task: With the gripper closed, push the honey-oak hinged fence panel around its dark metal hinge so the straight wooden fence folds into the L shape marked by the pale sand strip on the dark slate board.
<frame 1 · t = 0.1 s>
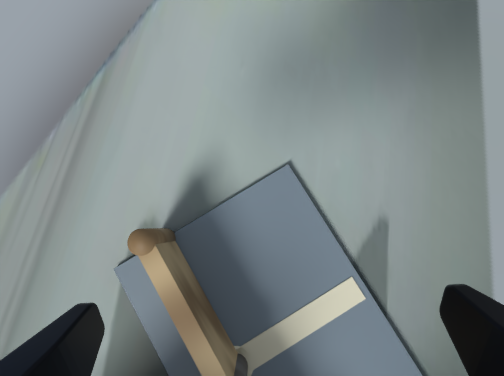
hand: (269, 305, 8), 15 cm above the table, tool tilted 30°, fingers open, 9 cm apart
folding fence panel: (192, 310, 19), point 3 cm above the table, hinge at 0.0°
layout board: (270, 332, 22), on the table
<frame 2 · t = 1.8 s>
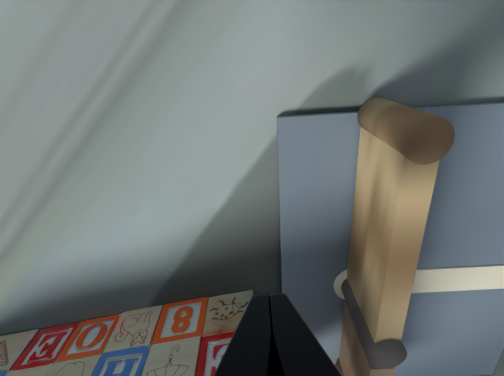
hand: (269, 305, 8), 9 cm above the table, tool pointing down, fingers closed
folding fence panel: (381, 237, 14), point 3 cm above the table, hinge at 0.0°
layout board: (405, 270, 18), on the table
stack of blocks: (121, 342, 21), on the table
fixed fence section: (348, 324, 20), resting on layout board
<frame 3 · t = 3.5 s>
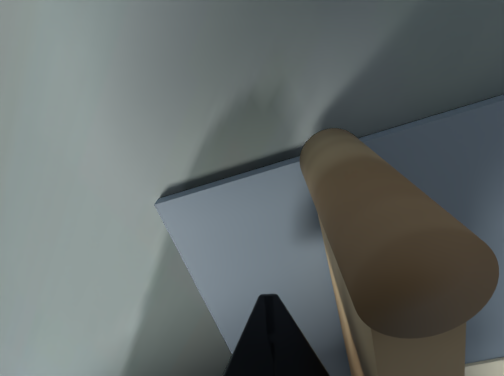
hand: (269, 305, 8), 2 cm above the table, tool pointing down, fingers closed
layout board: (448, 362, 12), on the table
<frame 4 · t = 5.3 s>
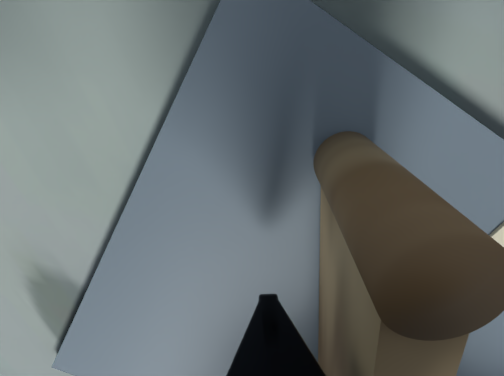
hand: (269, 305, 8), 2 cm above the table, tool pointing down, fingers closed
layout board: (370, 339, 11), on the table
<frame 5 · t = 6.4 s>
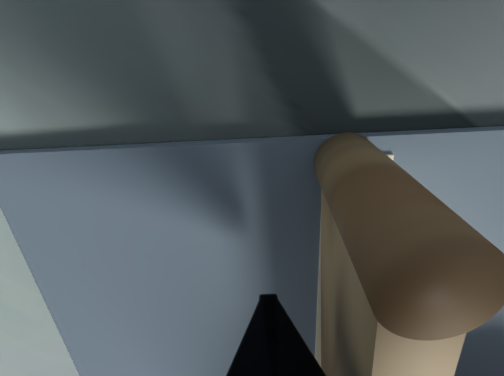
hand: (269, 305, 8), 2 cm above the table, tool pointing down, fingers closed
layout board: (324, 334, 11), on the table
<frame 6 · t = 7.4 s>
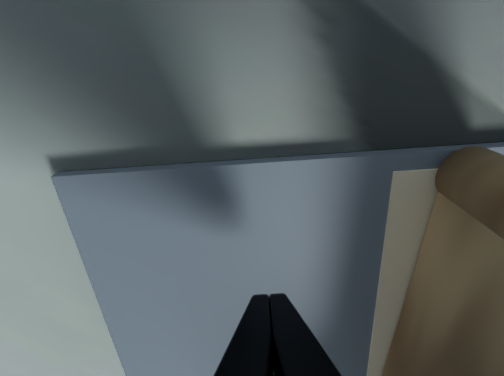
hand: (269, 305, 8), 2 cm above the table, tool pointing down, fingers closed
layout board: (376, 340, 11), on the table
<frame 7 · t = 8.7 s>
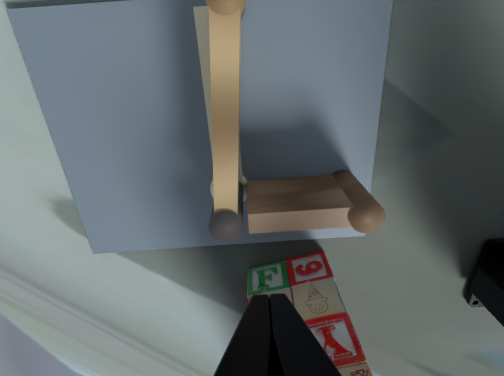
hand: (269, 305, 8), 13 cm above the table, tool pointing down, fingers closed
folding fence panel: (227, 119, 15), point 3 cm above the table, hinge at -95.4°
layout board: (217, 140, 19), on the table
stack of blocks: (308, 344, 27), on the table
fixed fence section: (288, 182, 20), resting on layout board
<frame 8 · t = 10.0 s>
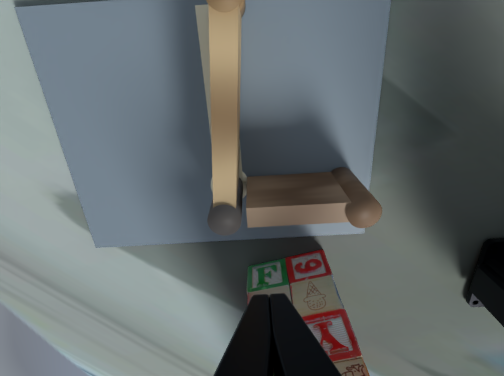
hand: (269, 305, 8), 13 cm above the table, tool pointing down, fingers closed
folding fence panel: (227, 114, 16), point 3 cm above the table, hinge at -95.4°
layout board: (218, 136, 19), on the table
stack of blocks: (308, 343, 28), on the table
fixed fence section: (288, 179, 20), resting on layout board
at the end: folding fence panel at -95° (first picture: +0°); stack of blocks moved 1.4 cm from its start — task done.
